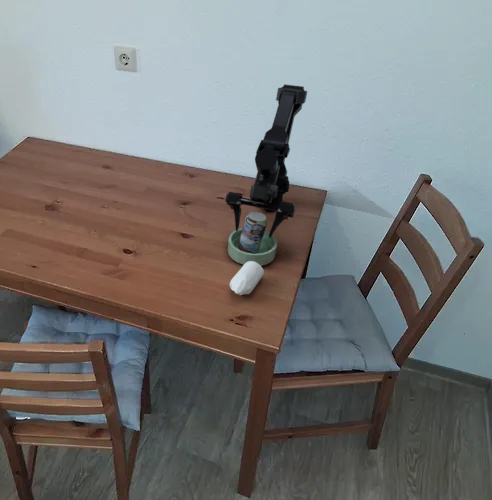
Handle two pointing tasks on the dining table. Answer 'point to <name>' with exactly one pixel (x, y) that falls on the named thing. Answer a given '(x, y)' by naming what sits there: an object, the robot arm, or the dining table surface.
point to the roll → (247, 278)
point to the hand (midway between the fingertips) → (252, 234)
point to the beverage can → (252, 232)
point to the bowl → (262, 257)
